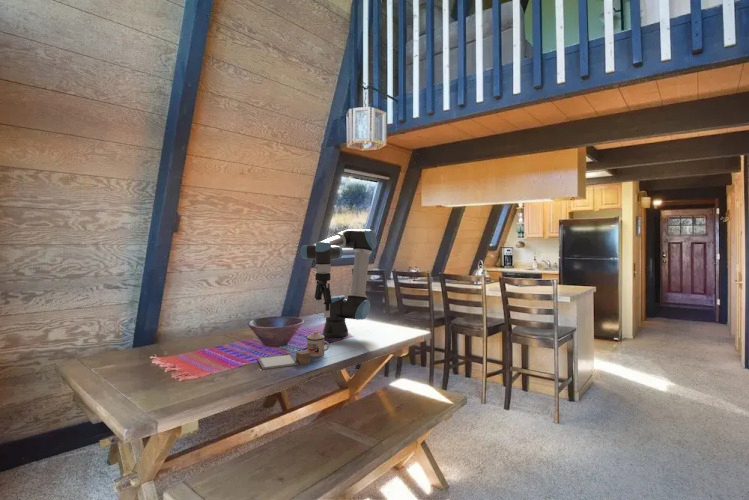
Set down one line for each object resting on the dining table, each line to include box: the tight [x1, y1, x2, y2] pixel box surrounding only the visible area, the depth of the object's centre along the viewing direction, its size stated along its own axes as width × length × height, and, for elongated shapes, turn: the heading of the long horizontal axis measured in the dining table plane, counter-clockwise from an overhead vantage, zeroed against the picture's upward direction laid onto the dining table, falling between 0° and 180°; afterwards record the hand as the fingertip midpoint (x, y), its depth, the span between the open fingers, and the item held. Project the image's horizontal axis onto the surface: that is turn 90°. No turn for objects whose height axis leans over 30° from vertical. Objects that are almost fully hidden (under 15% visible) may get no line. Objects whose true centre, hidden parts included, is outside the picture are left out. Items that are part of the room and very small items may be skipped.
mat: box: [257, 353, 299, 370], centre depth 196 cm, size 16×16×1 cm
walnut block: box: [295, 349, 311, 365], centre depth 195 cm, size 5×5×5 cm
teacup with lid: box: [306, 330, 330, 358], centre depth 208 cm, size 12×9×12 cm
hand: (322, 314), depth 208 cm, fingers open, 13 cm apart
